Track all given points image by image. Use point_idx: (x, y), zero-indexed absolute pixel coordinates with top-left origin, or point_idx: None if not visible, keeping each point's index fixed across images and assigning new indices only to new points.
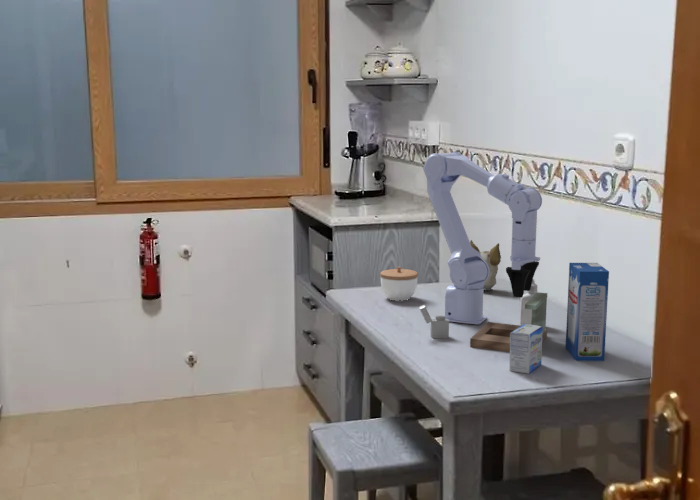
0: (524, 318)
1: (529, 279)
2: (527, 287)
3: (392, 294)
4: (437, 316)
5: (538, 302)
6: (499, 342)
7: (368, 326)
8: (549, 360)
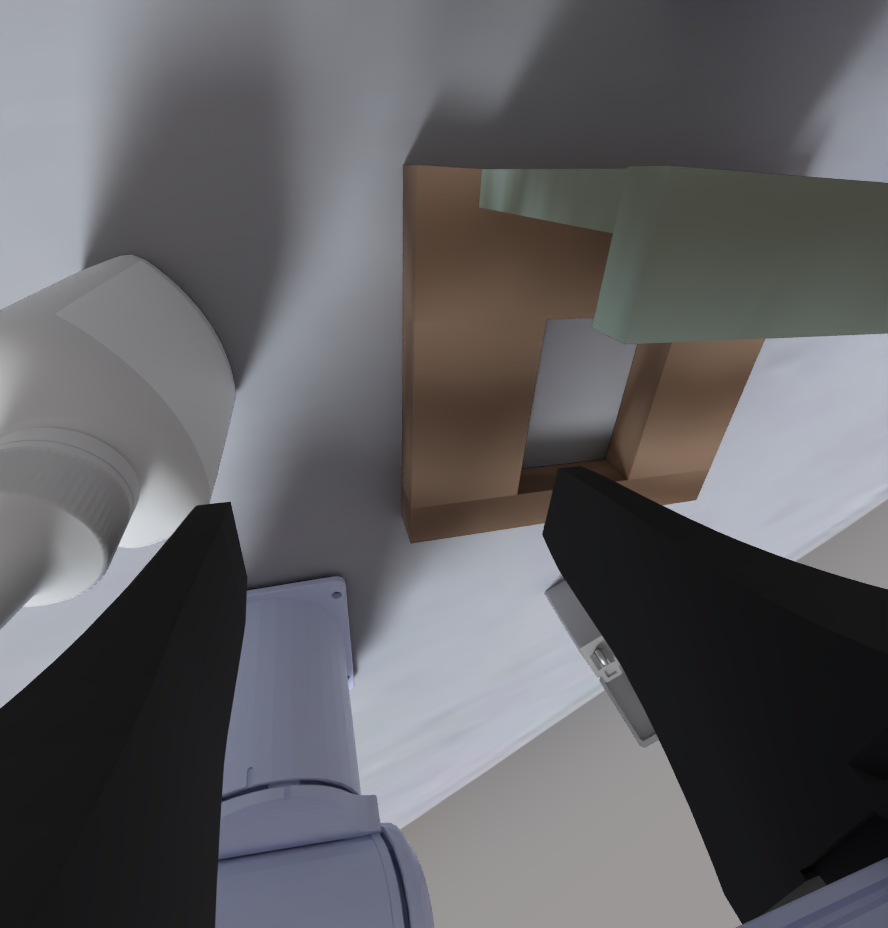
0: (228, 400)
1: (194, 629)
2: (232, 549)
3: None
4: (615, 674)
5: None
6: (744, 381)
7: (501, 758)
8: (882, 66)
